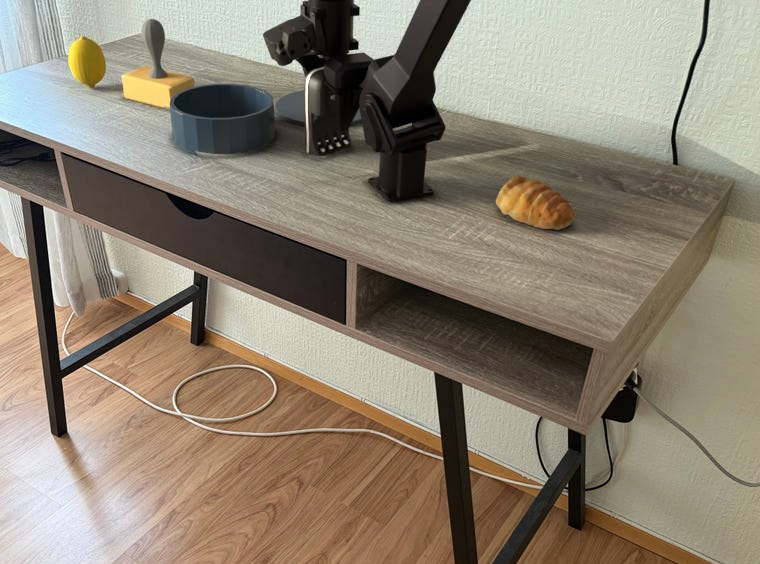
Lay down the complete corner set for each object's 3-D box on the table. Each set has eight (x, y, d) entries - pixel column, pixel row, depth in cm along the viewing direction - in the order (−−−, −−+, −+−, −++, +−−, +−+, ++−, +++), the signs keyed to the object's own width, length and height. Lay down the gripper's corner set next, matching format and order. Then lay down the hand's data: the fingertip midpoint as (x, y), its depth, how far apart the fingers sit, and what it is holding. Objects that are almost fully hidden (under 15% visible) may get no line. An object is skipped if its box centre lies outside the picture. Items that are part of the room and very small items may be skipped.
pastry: (584, 221, 98) (590, 192, 96) (552, 240, 94) (558, 210, 92) (520, 195, 104) (525, 167, 101) (488, 212, 100) (492, 183, 97)
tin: (288, 149, 113) (288, 111, 110) (188, 163, 109) (184, 125, 105) (256, 114, 124) (254, 79, 121) (163, 126, 119) (159, 89, 116)
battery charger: (320, 163, 110) (320, 78, 103) (302, 154, 112) (301, 70, 105) (359, 150, 114) (361, 67, 107) (341, 142, 116) (342, 60, 109)
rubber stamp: (197, 100, 128) (190, 20, 120) (173, 111, 124) (164, 29, 116) (148, 88, 131) (138, 9, 124) (123, 98, 127) (111, 18, 120)
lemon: (66, 91, 130) (57, 39, 125) (85, 80, 134) (76, 29, 129) (97, 95, 128) (89, 43, 123) (115, 84, 133) (108, 33, 128)
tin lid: (390, 124, 122) (392, 89, 119) (295, 137, 117) (295, 101, 114) (349, 91, 133) (350, 59, 130) (262, 102, 128) (260, 69, 125)
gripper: (245, -18, 105) (251, 103, 114) (296, 20, 91) (298, 153, 101) (325, -23, 109) (324, 93, 118) (386, 12, 95) (380, 141, 104)
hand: (329, 118), depth 110 cm, fingers open, 9 cm apart
